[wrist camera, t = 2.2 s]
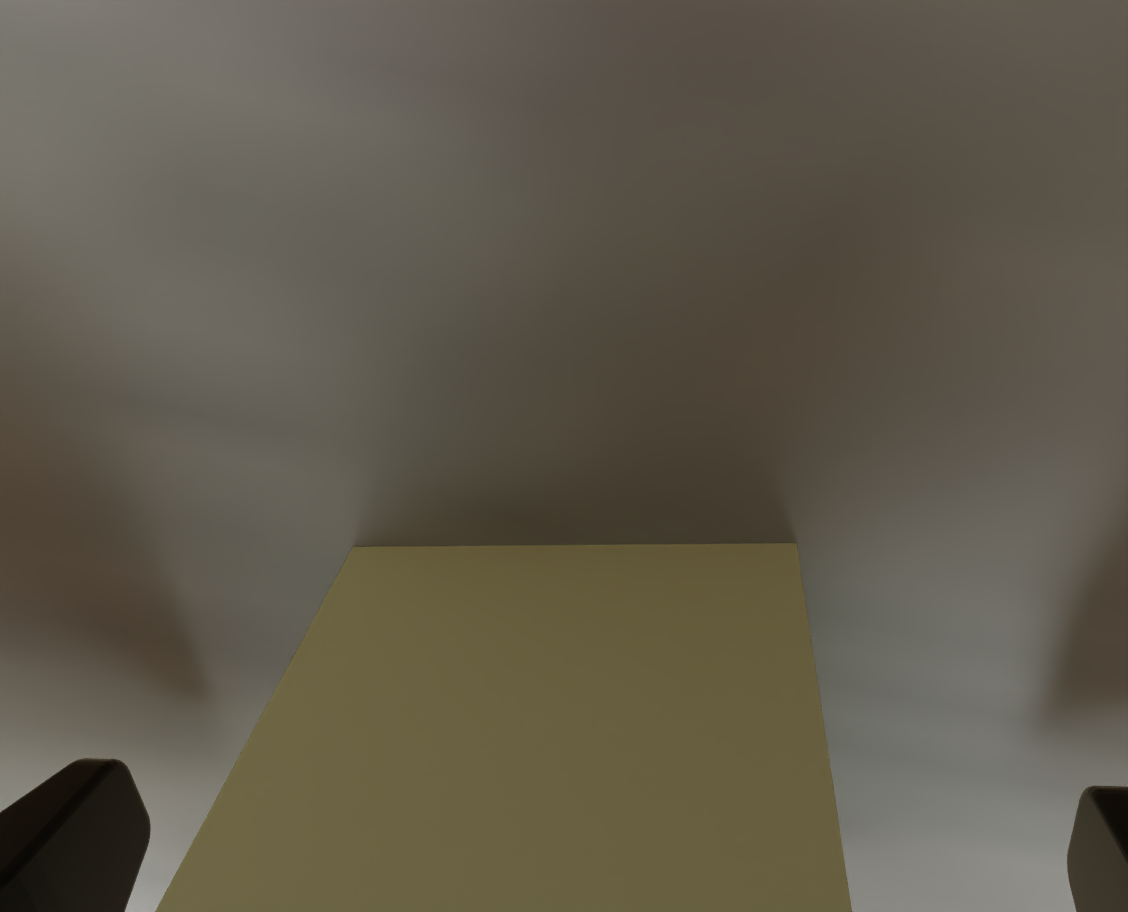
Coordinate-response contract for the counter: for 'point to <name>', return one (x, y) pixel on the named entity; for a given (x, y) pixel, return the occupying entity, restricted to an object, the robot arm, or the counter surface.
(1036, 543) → the counter surface
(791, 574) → the sage block
